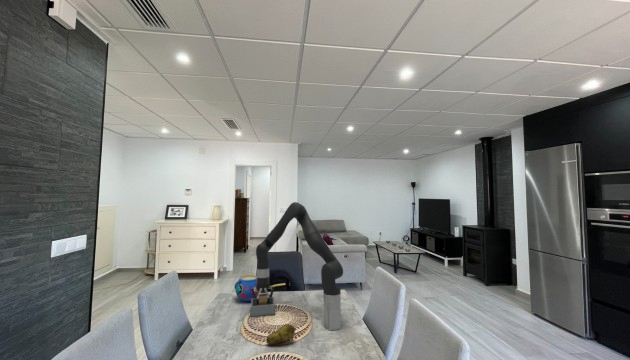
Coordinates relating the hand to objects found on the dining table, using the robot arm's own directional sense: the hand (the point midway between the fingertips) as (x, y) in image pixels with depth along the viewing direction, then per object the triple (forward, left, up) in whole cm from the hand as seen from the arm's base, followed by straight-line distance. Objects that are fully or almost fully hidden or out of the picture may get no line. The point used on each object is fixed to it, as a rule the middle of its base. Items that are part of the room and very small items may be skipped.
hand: (262, 304), depth 161 cm
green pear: (-39, -8, -5) cm, 40 cm away
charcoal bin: (0, 0, -4) cm, 4 cm away
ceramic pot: (+22, +9, -5) cm, 24 cm away
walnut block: (0, 0, -1) cm, 1 cm away
